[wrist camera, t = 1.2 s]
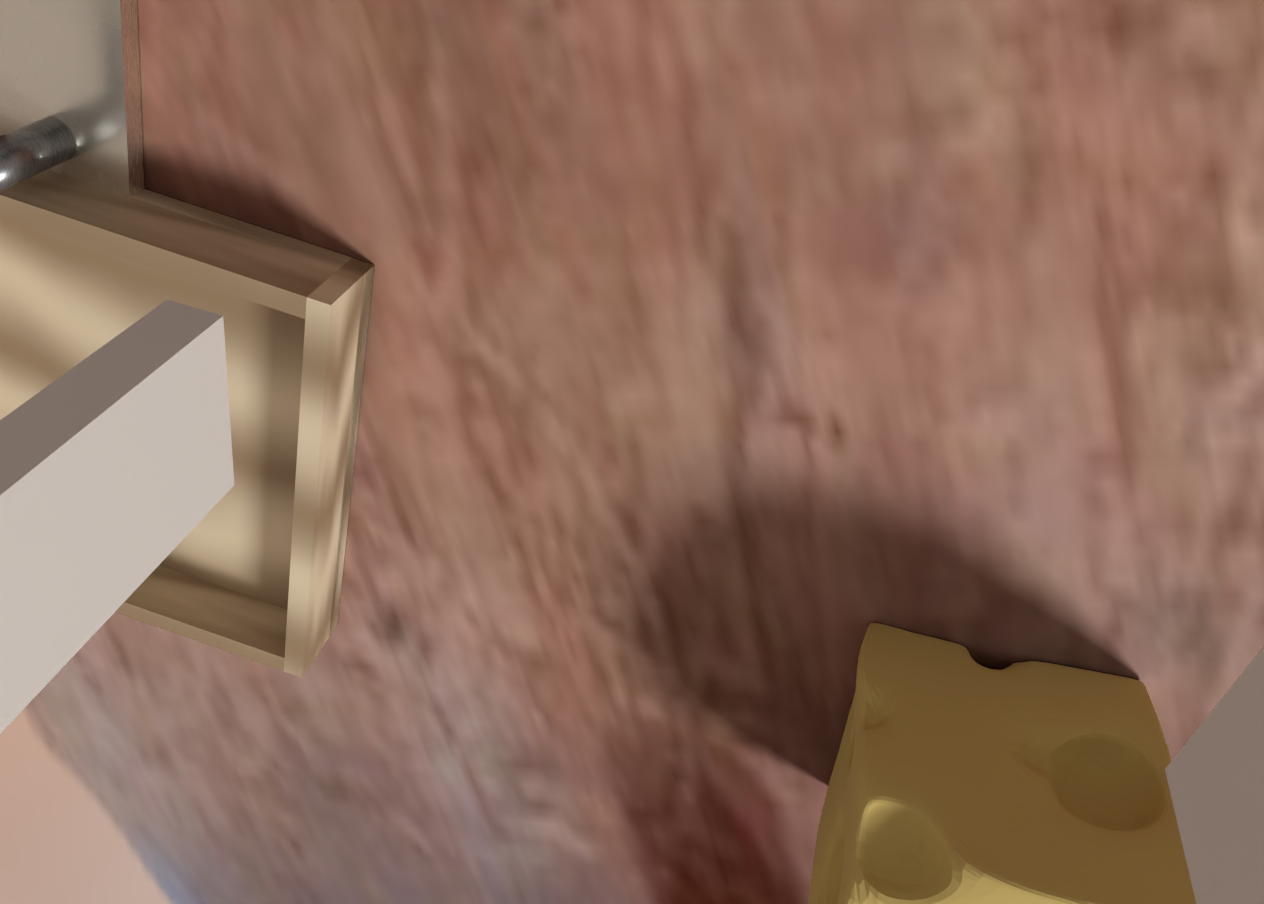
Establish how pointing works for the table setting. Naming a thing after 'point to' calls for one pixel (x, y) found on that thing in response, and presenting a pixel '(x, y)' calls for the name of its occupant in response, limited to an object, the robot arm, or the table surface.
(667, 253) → the table surface
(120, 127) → the corner grab bar
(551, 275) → the table surface
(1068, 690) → the cheese
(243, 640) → the tray
